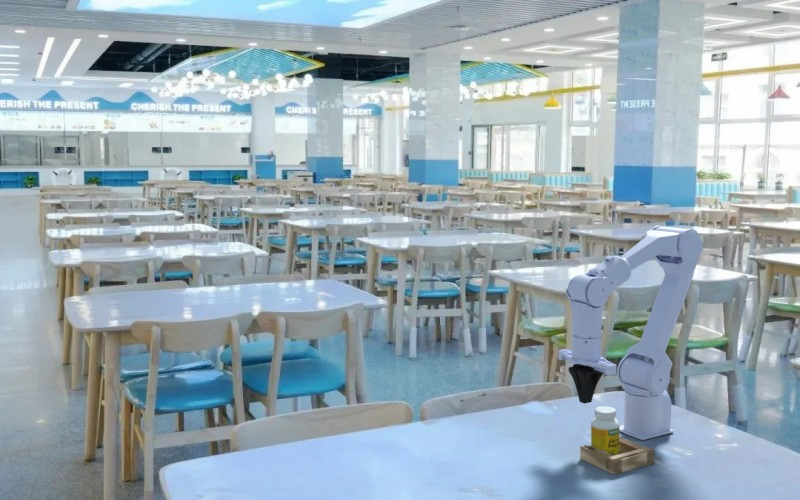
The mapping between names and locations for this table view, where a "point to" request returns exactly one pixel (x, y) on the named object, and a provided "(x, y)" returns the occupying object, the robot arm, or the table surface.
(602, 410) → the supplement bottle
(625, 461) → the hub cradle
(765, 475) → the table surface
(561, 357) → the robot arm
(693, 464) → the table surface
